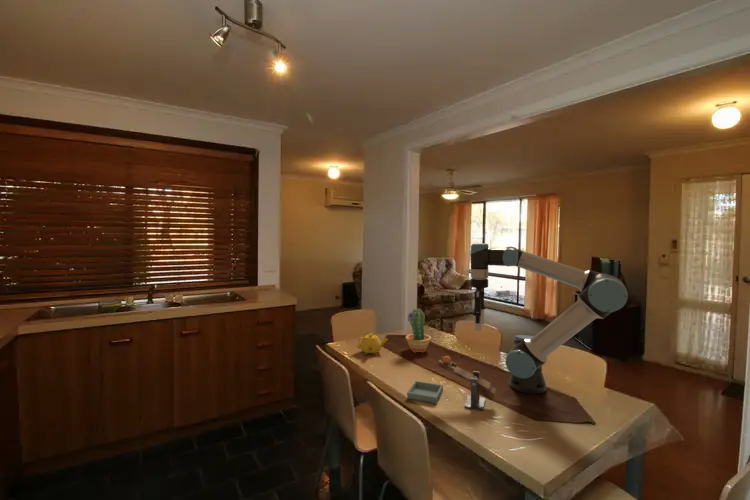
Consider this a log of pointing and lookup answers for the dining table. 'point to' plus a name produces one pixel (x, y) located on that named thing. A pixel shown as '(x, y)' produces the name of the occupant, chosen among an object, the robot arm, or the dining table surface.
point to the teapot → (371, 344)
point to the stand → (475, 395)
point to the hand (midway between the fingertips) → (479, 327)
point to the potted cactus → (417, 332)
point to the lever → (483, 384)
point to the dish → (425, 392)
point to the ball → (446, 360)
